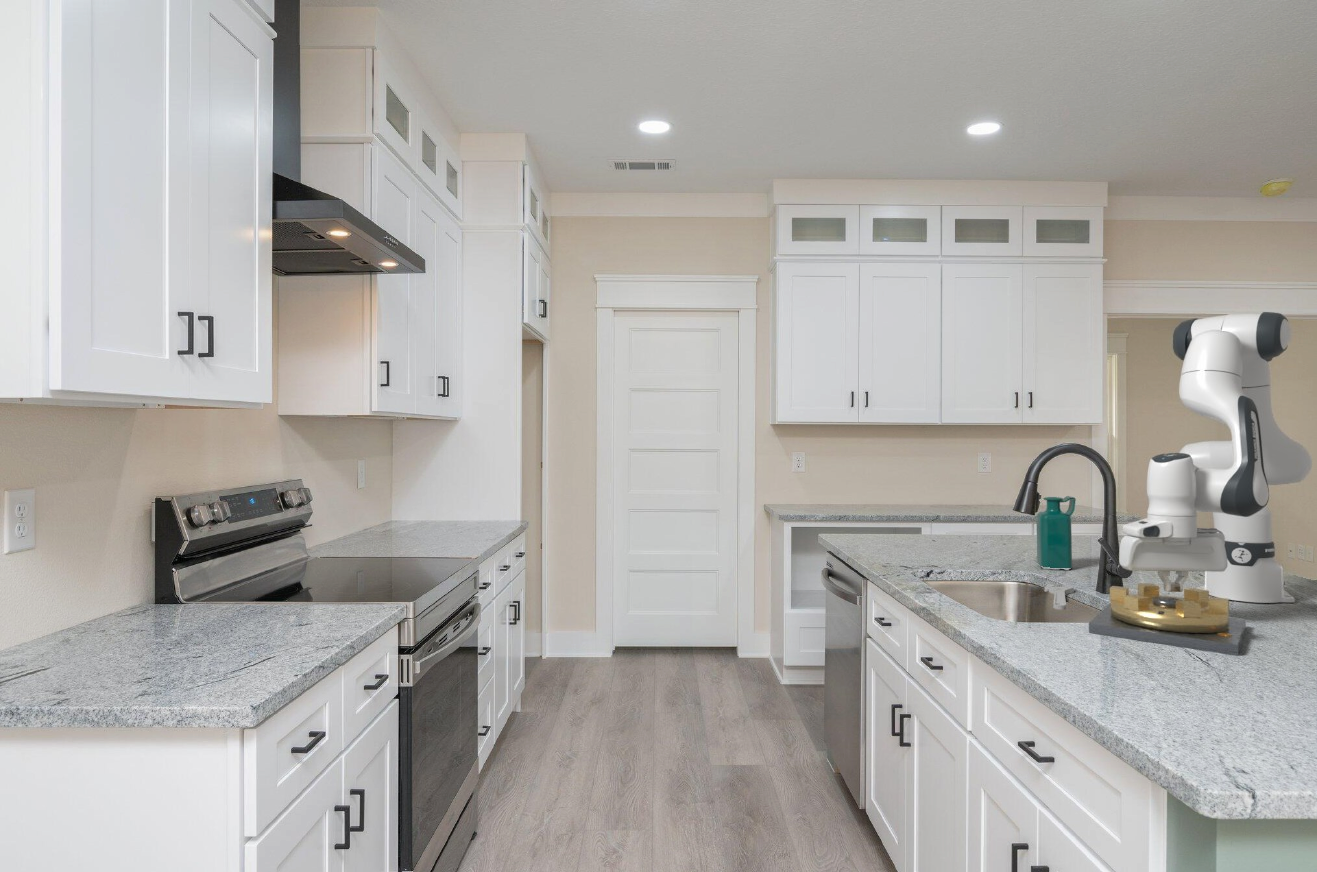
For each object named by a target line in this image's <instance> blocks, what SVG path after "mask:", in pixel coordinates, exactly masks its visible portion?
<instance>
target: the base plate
mask: <svg viewBox="0 0 1317 872" xmlns="http://www.w3.org/2000/svg"><path fill="white" fill-rule="evenodd" d="M1246 625H1247V622H1246V618H1243V617H1233V616H1229V628H1228V629H1227V630H1224V631H1220V632H1211V633H1191V632H1176V631H1167V630H1159V629H1153V628H1147V627H1142V626H1138V625H1133V624H1130V623H1126V622H1123V621H1120V620H1118V619H1116V618H1114V617H1113V616H1112V615H1111V602H1110V603H1109V604H1108V605H1107V606H1105V608H1103V610H1101V611H1100V612H1099V613H1098V614H1097V615H1096V616H1095V617H1094V618H1093V619H1092V620H1090V622H1088V633H1089V634H1095V635H1099V636H1101V635H1102V636H1108V637H1114V638H1121V639H1128V640H1134V641H1140V642H1141V641H1142V642H1147V643H1154V644H1161V645H1167V646H1173V647H1174V646H1175V647H1179V648H1186V649H1191V650H1197V651H1198V650H1199V651H1207V652H1213V653H1219V654H1224V655H1225V654H1226V655H1233V656H1239V654H1240V651H1241V647H1242V643H1243V639H1244V636H1245V632H1246V629H1247V626H1246Z"/></svg>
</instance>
